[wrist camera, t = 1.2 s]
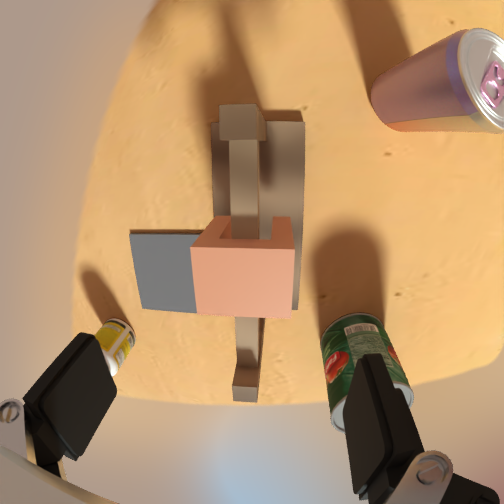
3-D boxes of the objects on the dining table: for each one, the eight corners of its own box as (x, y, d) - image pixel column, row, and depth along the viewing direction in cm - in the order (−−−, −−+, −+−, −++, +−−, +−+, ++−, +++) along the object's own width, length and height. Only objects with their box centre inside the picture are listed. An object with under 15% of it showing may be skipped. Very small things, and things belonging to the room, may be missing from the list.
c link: (215, 215, 20) (190, 247, 14) (290, 216, 20) (294, 249, 14) (218, 267, 22) (197, 314, 16) (288, 269, 21) (290, 318, 15)
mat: (130, 233, 29) (129, 234, 28) (212, 233, 28) (211, 235, 28) (143, 306, 32) (142, 308, 32) (217, 312, 31) (217, 314, 31)
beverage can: (356, 103, 22) (439, 66, 8) (388, 60, 20) (477, 6, 6) (404, 144, 23) (511, 159, 9) (433, 102, 21) (541, 90, 7)
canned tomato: (391, 347, 31) (419, 413, 21) (334, 372, 33) (346, 443, 23) (373, 300, 29) (406, 369, 19) (309, 331, 31) (317, 407, 21)
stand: (214, 123, 24) (151, 108, 12) (303, 122, 24) (330, 101, 11) (221, 301, 31) (188, 397, 18) (297, 303, 30) (304, 405, 17)
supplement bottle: (99, 325, 34) (67, 363, 26) (118, 311, 33) (85, 352, 25) (123, 350, 35) (96, 392, 28) (143, 339, 34) (116, 384, 26)
